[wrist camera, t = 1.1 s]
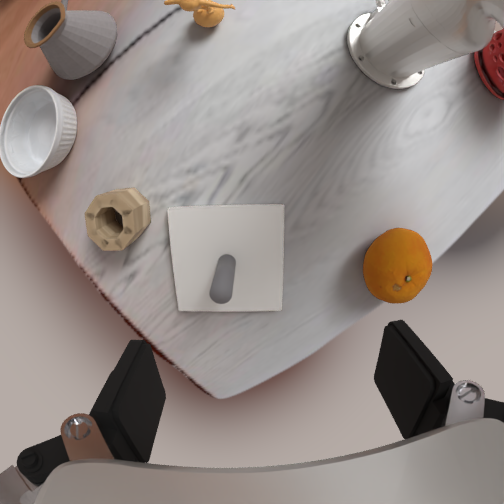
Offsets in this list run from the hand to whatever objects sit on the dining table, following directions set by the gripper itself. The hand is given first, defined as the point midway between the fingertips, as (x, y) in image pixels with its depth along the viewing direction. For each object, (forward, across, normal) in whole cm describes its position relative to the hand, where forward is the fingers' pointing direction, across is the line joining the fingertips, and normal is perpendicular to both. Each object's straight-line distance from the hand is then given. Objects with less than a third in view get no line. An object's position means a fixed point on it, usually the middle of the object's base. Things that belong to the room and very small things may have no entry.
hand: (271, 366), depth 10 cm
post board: (+29, +4, +5) cm, 30 cm away
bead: (+29, +17, -2) cm, 34 cm away
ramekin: (+30, +30, -17) cm, 45 cm away
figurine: (+28, +4, -28) cm, 40 cm away
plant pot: (+27, -45, -28) cm, 59 cm away
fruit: (+29, -20, +7) cm, 36 cm away
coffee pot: (+29, +21, -33) cm, 49 cm away
